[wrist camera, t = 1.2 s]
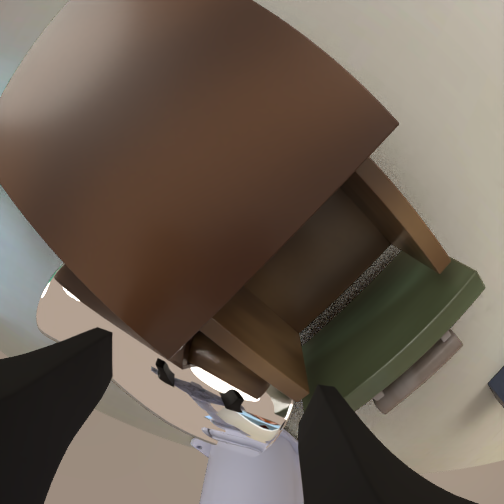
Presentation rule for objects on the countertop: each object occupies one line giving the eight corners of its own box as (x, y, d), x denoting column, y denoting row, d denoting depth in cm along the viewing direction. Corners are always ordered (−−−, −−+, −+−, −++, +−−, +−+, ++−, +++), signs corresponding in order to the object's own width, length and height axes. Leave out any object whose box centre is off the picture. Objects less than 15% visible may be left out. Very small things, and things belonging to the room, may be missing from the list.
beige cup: (38, 264, 12) (304, 417, 13) (105, 236, 19) (298, 345, 19) (28, 355, 14) (238, 477, 14) (82, 313, 21) (249, 408, 21)
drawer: (451, 290, 17) (509, 334, 11) (344, 389, 19) (365, 459, 13) (279, 99, 15) (287, 53, 9) (158, 233, 17) (102, 266, 11)
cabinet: (339, 146, 16) (400, 123, 8) (208, 283, 19) (168, 360, 11) (177, 18, 15) (128, -56, 6) (68, 150, 17) (-24, 147, 9)
